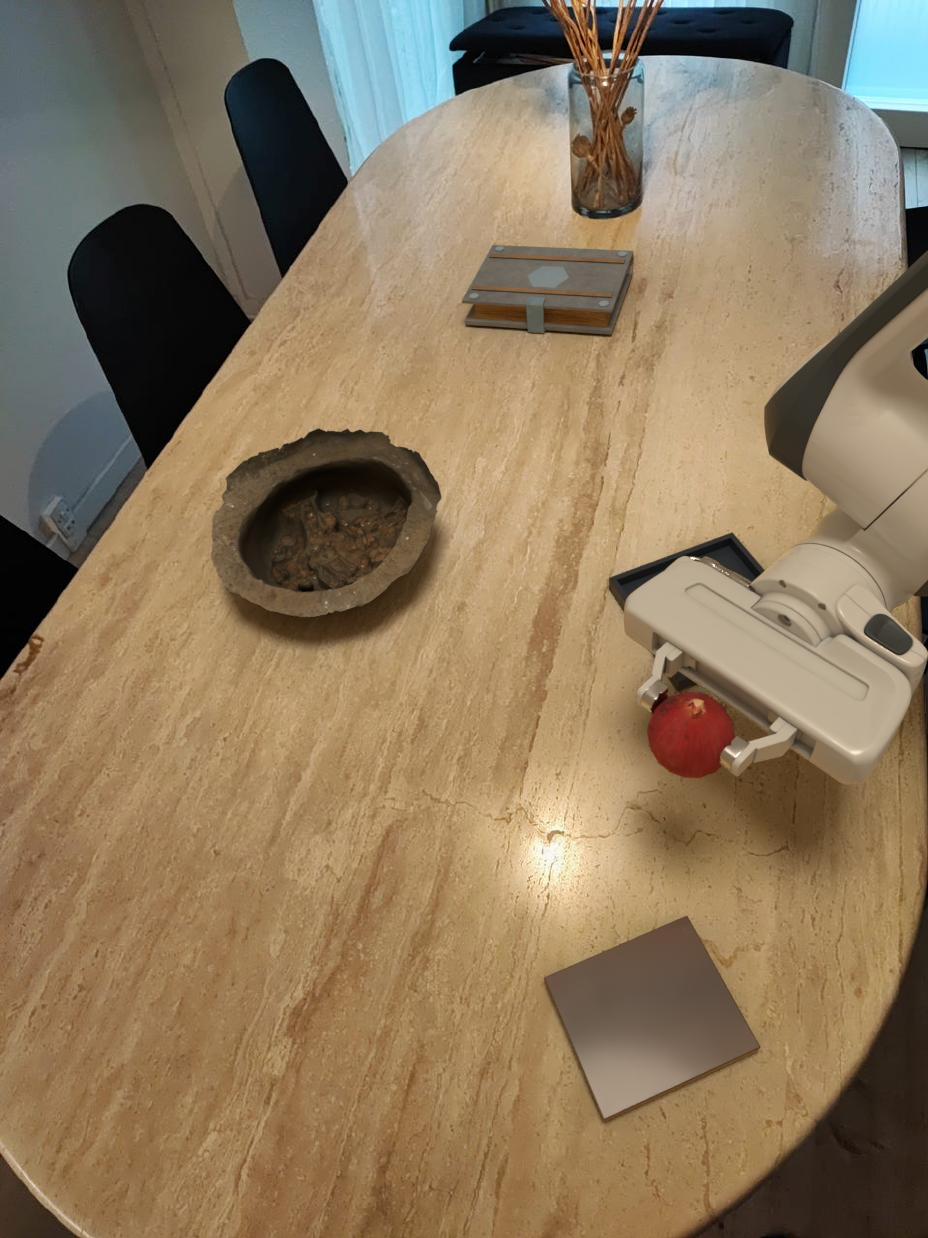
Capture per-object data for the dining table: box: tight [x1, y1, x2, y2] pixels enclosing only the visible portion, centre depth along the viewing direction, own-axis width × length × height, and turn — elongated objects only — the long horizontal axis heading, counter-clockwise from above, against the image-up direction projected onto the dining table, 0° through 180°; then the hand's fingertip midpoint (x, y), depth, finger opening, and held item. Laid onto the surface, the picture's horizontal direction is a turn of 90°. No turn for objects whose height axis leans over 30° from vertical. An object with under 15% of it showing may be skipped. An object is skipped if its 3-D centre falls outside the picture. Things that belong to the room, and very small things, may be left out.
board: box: [543, 915, 761, 1124], centre depth 62 cm, size 10×12×1 cm
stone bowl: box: [210, 428, 442, 618], centre depth 92 cm, size 25×25×9 cm
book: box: [461, 244, 635, 336], centre depth 121 cm, size 21×16×5 cm
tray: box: [608, 531, 766, 692], centre depth 84 cm, size 14×14×2 cm
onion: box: [646, 691, 736, 779], centre depth 59 cm, size 6×6×8 cm
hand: (684, 734), depth 57 cm, fingers closed on onion, 6 cm apart
